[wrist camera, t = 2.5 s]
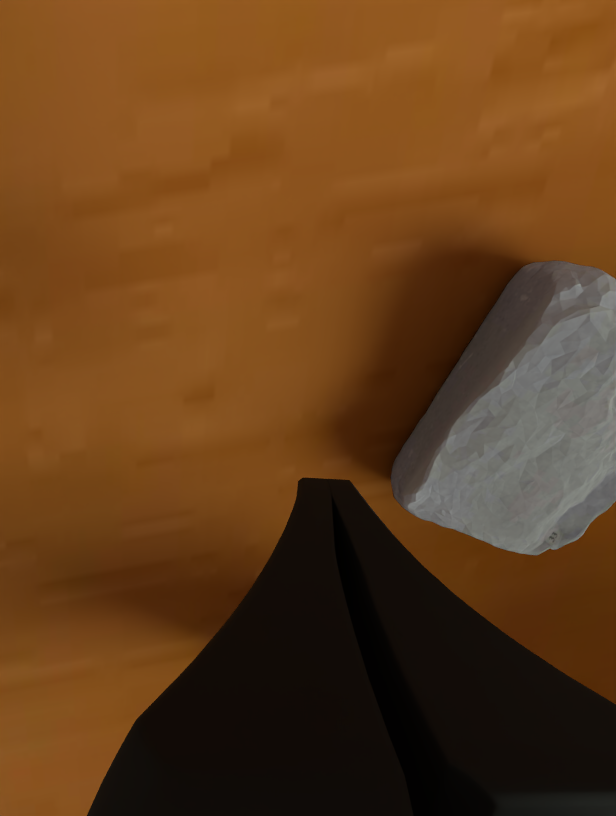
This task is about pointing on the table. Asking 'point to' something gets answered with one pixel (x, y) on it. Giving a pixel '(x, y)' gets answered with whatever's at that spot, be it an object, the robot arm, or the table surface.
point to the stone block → (523, 418)
